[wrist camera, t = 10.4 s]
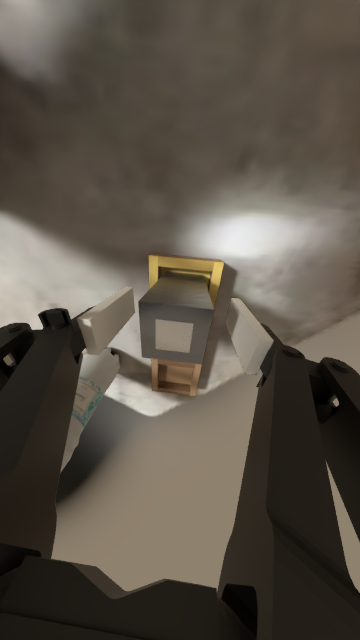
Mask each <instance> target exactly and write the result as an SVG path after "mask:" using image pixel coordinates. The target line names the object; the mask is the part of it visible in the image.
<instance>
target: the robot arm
mask: <svg viewBox="0 0 360 640" xmlns="http://www.w3.org/2000/svg"><path fill="white" fill-rule="evenodd" d="M134 313H135V309H134V297H133V287H124V288H122V289H121V290H119V291H118V292H116V293H115V294H113V295H112V296H110V297H109V298H107V299H106V300H104V301H103V302H101V303H100V304H98V305H97V306H94V307H91V308H89V309H87V310H86V311H85V312H82V313H81V314H79V315H78V316H76V317H75V318H73V319H71V318H70V316H69V313H68V310H67V309H63V308H56V309H50V310H46V311H43V312H41V313H39V314H38V316H39V318H40V320H41V322H42V325H43V327H44V328H43V330H32V329H31V327H30V325H29V324H27V323H13V324H9V325H7V326H4V327H1V328H0V640H360V593H359V592H358V590H357V589H356V588H355V586H354V584H353V582H352V580H351V578H350V575H349V573H348V569H347V566H346V562H345V556H344V551H343V546H342V541H341V537H340V532H339V526H338V521H337V516H336V511H335V506H334V501H333V496H332V491H331V486H330V481H329V476H328V471H327V465H326V462H327V464H328V467H329V469H330V471H331V474H332V476H333V479H334V481H335V483H336V486H337V488H338V491H339V493H340V495H341V498H342V500H343V503H344V505H345V508H346V510H347V512H348V515H349V517H350V520H351V522H352V524H353V527H354V529H355V532H356V534H357V537H358V539H359V541H360V375H359V374H358V373H357V372H356V371H355V370H354V369H353V368H351V367H350V366H348V365H347V364H346V363H344V362H341V361H340V360H336V359H333V358H328V357H325V358H323V359H322V360H321V362H320V363H316V362H313V361H310V360H307V359H305V357H304V355H303V354H302V353H301V352H300V351H298V350H296V349H295V348H292V347H290V346H286V345H284V344H283V343H282V342H281V341H280V340H279V339H278V338H277V336H275V334H274V333H273V332H272V331H271V330H270V328H269V327H267V326H266V325H264V324H261V323H259V322H258V321H257V319H256V318H255V317H254V316H253V314H252V313H251V312H250V311H249V309H248V308H247V307H246V306H245V305H244V303H243V302H242V301H241V300H240V299H239V298H231V302H230V306H229V310H228V313H227V317H226V321H225V324H226V327H227V329H228V332H229V334H230V337H231V339H232V342H233V345H234V347H235V350H236V352H237V355H238V358H239V360H240V363H241V365H242V368H243V371H244V373H245V374H252V375H257V373H258V371H259V369H261V371H262V373H263V375H262V377H261V379H260V381H259V383H258V384H257V387H259V390H258V396H257V401H256V407H255V412H254V418H253V423H252V429H251V434H250V440H249V446H248V451H247V457H246V462H245V468H244V473H243V479H242V485H241V490H240V496H239V501H238V506H237V512H236V518H235V523H234V527H233V531H232V534H231V537H230V539H229V542H228V545H227V548H226V552H225V556H224V560H223V566H222V570H221V575H220V581H219V586H218V591H216V588H212V587H207V586H203V585H199V584H193V583H187V582H181V581H176V580H170V579H162V580H159V581H157V582H154V583H151V584H148V585H146V586H143V587H140V588H138V589H135V590H132V591H124V590H123V589H122V588H121V587H119V586H118V585H117V584H116V583H115V582H114V581H112V580H111V579H110V578H109V577H108V576H107V575H106V574H104V573H103V572H102V571H101V570H100V569H99V568H97V567H95V566H90V565H84V564H78V563H72V562H66V561H61V560H54V559H51V556H52V550H53V544H54V538H55V531H56V519H57V518H56V517H57V515H56V507H55V498H56V491H57V486H58V481H59V476H60V471H61V466H62V461H63V456H64V451H65V446H66V441H67V436H68V431H69V425H70V420H71V415H72V410H73V405H74V400H75V395H76V390H77V385H78V380H79V375H80V370H81V365H82V359H83V354H82V351H83V350H84V349H85V348H86V350H87V353H88V355H96V356H99V355H100V354H101V353H102V352H103V351H104V349H105V348H106V347H107V346H108V344H109V343H110V342H111V341H112V340H113V338H114V337H115V336H116V335H117V334H118V332H119V331H120V330H121V329H122V328H123V326H124V325H125V324H126V323H127V321H128V320H129V319H130V318H131V317H132V315H133V314H134ZM7 355H9V357H10V358H11V360H12V361H13V363H12V364H11V365H9V366H8V365H7V364H6V363H5V362H4V360H3V358H4V357H5V356H7ZM336 398H337V399H338V401H339V405H338V406H337V407H336V406H335V405H334V403H333V401H334V400H335V399H336ZM325 459H326V460H325Z"/></svg>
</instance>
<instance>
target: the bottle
mask: <svg viewBox="0 0 360 640" xmlns="http://www.w3.org/2000/svg"><path fill="white" fill-rule="evenodd" d="M119 369H120V362H119V355H118V354H115V355H114V356H113V355H112V354H111V349H110V348H106V349H104V351H103V352H102V353H101V354H100V355H99V356H96V355H88V353H87V354H86V355H84V356H83V359H82V365H81V370H80V375H79V380H78V385H77V390H76V395H75V400H74V405H73V410H72V415H71V420H70V425H69V431H68V436H67V441H66V446H65V451H64V456H63V461H62V466H61V471H62V470H63V468H64V467H65V465H66V464H67V462H68V461H69V460H70V458H71V456H72V453H73V450H74V449H75V447H76V446H77V445H78V442H79V436H80V433H81V432H82V430H83V429H84V427H85V425H86V424H87V422H88V420H89V419H90V417H91V415H92V413H93V412H94V410H95V408H96V407H97V405H98V403H99V402H100V400H101V398H102V396H103V395H104V393H105V392H106V390H107V389H108V387H109V386H110V384H111V383H112V381H113V380H114V378H115V377H116V375H117V373H118V371H119ZM61 471H60V472H61Z"/></svg>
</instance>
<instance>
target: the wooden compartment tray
mask: <svg viewBox="0 0 360 640" xmlns="http://www.w3.org/2000/svg"><path fill="white" fill-rule="evenodd" d="M223 265H224V262H223V261H221V260H217V259H207V258H197V257H186V256H176V255H165V254H155V253H154V254H151V255H149V289H150V288H151V287H152V286H153V285H154V284H155V283H156V282H157V281H158V280H159V279H160V278H161V276H162V275H163V274H164V273H165V272H166V271H169V272H180V273H190V274H200V275H204V278H205V282H206V285H207V289H208V292H209V295H210V299H211V302H212V306H213V309H214V307H215V302H216V298H217V293H218V288H219V284H220V279H221V275H222V270H223ZM213 312H214V310H213ZM212 316H213V315H212ZM211 321H212V320H211ZM210 325H211V324H210ZM207 339H208V338H207ZM204 353H205V352H204ZM151 364H152V391H160V392H167V393H175V394H183V395H191V396H195V394H196V390H197V385H198V381H199V376H200V371H201V367H202V365H201V364H193V363H185V362H177V361H168V360H160V359H152V358H151Z"/></svg>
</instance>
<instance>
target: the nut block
mask: <svg viewBox="0 0 360 640" xmlns="http://www.w3.org/2000/svg"><path fill="white" fill-rule="evenodd" d="M138 303H139V318H140V333H141V348H142V357H144V358H152V359H160V360H168V361H177V362H185V363H193V364H201V365H202V362H203V357H204V352H205V348H206V343H207V338H208V334H209V329H210V324H211V320H212V315H213V310H214V309H213V306H212V302H211V299H210V295H209V292H208V289H207V285H206V282H205V278H204V275H200V274H190V273H180V272H169V271H166V272H165V273H164V274H163V275H162V276H161V278H160V279H159V280H158V281H157V282H156V283H155V284H154V285H153V286H152V287H151V288H150V289H149V291H148V292H147V293H146V294H145V295H144V296H143V297H142V298H141V299H140V300H139V301H138Z"/></svg>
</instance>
